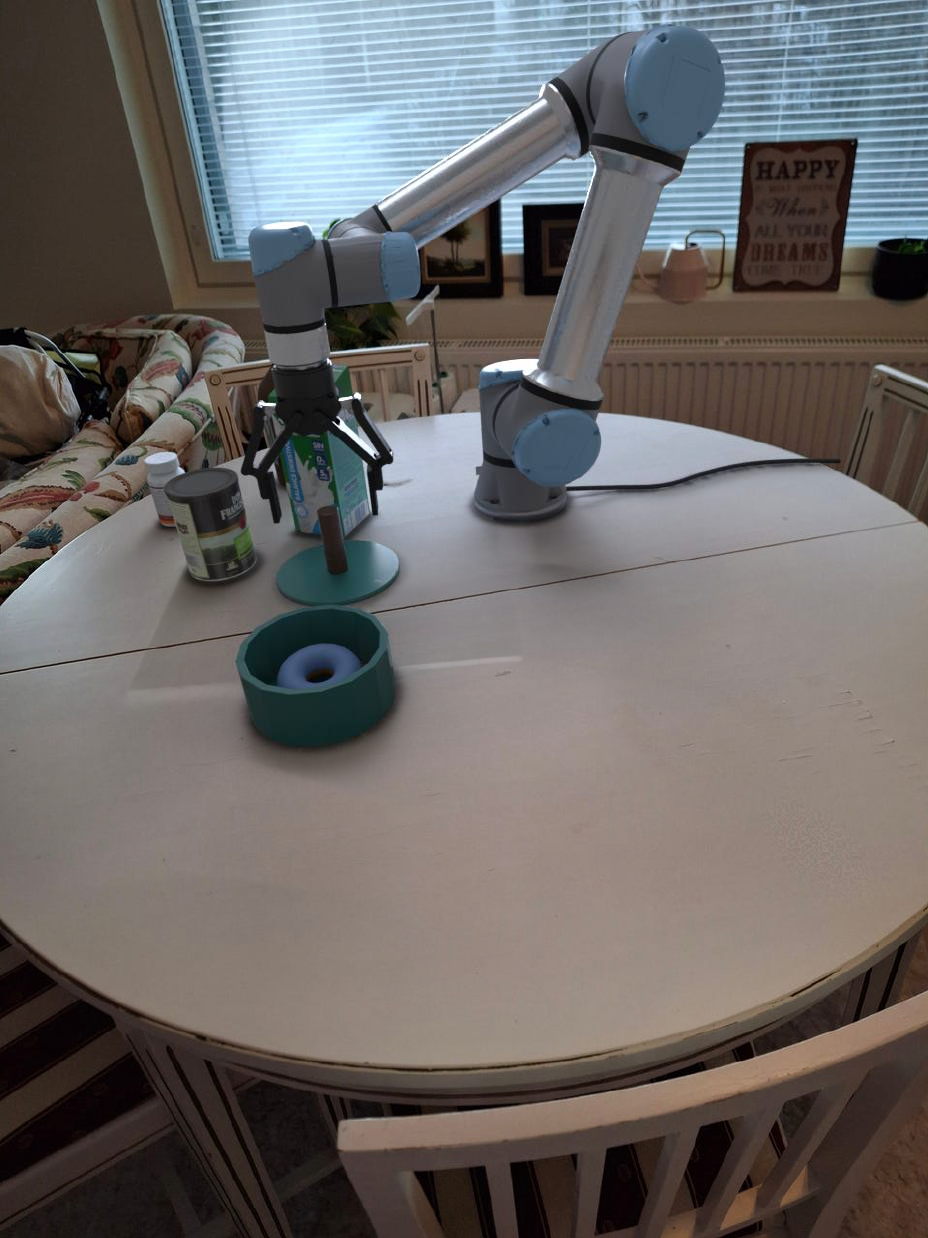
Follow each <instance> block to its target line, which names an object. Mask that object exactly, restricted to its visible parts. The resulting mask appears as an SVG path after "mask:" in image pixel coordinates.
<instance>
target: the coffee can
mask: <svg viewBox="0 0 928 1238" xmlns="http://www.w3.org/2000/svg"><path fill="white" fill-rule="evenodd" d="M239 480H240V479H239V475H238V473H237V472H236V471H235V470H232V469H231V468H226V467H203V468H198V469H193V470H189V471H186V472H185V473H183V474H181V475H178V476H176V477H174V478H173V479H171V480H170V481H168V482H167V483H166V485H165V486H164V491H165V494H166V496H167V498H168V501H169V504H170V508H171V512H172V515H173V518H174V522H175V525H176V527H175V528H176V531H177V535H178V538H179V541H180V545H181V549H182V552H183V554H184V558H185V562H186V565H187V568H188V572H189V574H190V575H191V577H193V578H194V579H196V580H199V581H206V582H219V581H224V580H229V579H232V578H237V577H238V576H241V575H242V574H245V573H246V572H248V571H249V570H251V569H252V568H253V567H254V566H255V565H256V562H257V555H256V550H255V546H254V542H253V541H254V540H253V538H252V537H253V536H252V533H251V529H250V526H249V525H250V524H249V521H248V517H247V516H248V515H247V513H246V508H245V504H244V500H243V495H242V491H241V486H240V482H239Z"/></svg>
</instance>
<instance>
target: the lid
mask: <svg viewBox="0 0 928 1238" xmlns="http://www.w3.org/2000/svg"><path fill="white" fill-rule="evenodd" d="M317 516H318V521H319V526H320V532H321V534H320V537H321V542H322V543H320V544H317V545H313V546H310V547H308V548H306V549H304V550H301V551H299V552H298V553H296V554H294V555H292V556H291V557H289V558H288V559H287V560H286V561H285V562H284V563H283V564H282V565H281V566H280V567H279V570H277V574H276V584H277V587H278V590H279V591H280V592H281V594H282V595H284V596H285V597H286V598H287V599H289V600H291V601H293V602H296V603H299V604H303V605H309V606H320V605H331V604H333V605H340V606H342V605H346V604H351V603H355V602H359V601H361V600H366V599H368V598H370V597H373V596H374V595H377V594H379V593H380V592H382V591H383V590H385V589H386V588H388V586H390V585H391V584H392V583H393V582H394V581H395V580H396V578H397V576H398V574H399V571H400V559H399V557H398V556H397V554H396V553H395V552H394V551H393V550H392V549H390V548H389V547H387V546H386V545H384V544H380V543H378V542H374V541H370V540H361V539H345V540H344V538H343V533H342V527H341V521H340V515H339V510H338V508H337V507H336V506H324V507H321V508H319V509H318V510H317Z"/></svg>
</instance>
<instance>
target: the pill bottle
mask: <svg viewBox="0 0 928 1238" xmlns="http://www.w3.org/2000/svg"><path fill="white" fill-rule="evenodd" d="M143 461H144V465H145V469H146V472H147V473H148V474H147V478H146V481H147V486H148V488H149V492H150V494H151V498H152V500H153V504H154V507H155V510H156V513H157V517H158V520H159V522H160V524H161V525H162V526H164V527H168V528H176V525H175V522H174V518H173V515H172V512H171V508H170V504H169V501H168V498H167V496H166V494H165V491H164V486H165V485H166V483H167V482H168V481H170V480H171V479H173V478H174V477H176V476H178V475H181V474H183V473H186V472H185V470H184V469H183V468H182V467H180V461H179V458H178V455H177V454H176V452H172V451H161V452H157V453H153V454H151V455H149V456H147V457H146V458H145V459H144V460H143Z"/></svg>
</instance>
